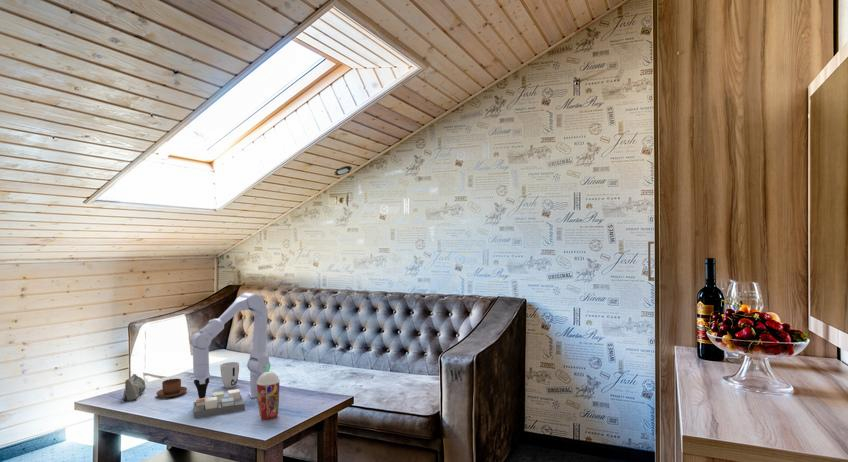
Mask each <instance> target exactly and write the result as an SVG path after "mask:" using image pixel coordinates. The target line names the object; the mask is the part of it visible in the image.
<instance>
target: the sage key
mask: <svg viewBox="0 0 848 462" xmlns="http://www.w3.org/2000/svg"><path fill="white" fill-rule="evenodd" d="M211 397H217V403H221V399H224V397H225V392H224V390H223V391H222V390H221V391H215V392H211Z"/></svg>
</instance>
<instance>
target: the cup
mask: <svg viewBox="0 0 848 462" xmlns="http://www.w3.org/2000/svg"><path fill="white" fill-rule="evenodd" d="M219 368H220V376H221V381H222V382H221V383H222V384H223V386H224V388H226V389H230V388H235V387H236V386H237V385H238V380H239V374H240V362H237V361H229V362H223V363H221V364H220V366H219Z"/></svg>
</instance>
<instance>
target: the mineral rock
mask: <svg viewBox="0 0 848 462" xmlns="http://www.w3.org/2000/svg"><path fill="white" fill-rule="evenodd" d="M124 385H125V386H124V391H123V395H122V396H123V401H134V400H137V399H138V398H139V397H140V395H141V394H142V393H144V392H145V390H146V380H145V379H143V378H142V377H140V376H138V375H137V374H135V373H133V374H132V376H130V377H129V378H128V379H127V378H126V380H125V382H124Z"/></svg>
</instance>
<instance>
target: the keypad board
mask: <svg viewBox="0 0 848 462" xmlns="http://www.w3.org/2000/svg"><path fill="white" fill-rule="evenodd" d="M226 398H228V396H224V399H226ZM245 405H246V404H245V401H244V399H243V397H242V395H241V394H240V400H234V405H231V406H225V407H222V402H221V403H217V408H212V409H206V410H205V405H202V406H196V401H193V414H194V419H197V418H204V417H210V416H216V414H217V415H221V414H228V413H233V412H239V411H245V410H246V406H245Z"/></svg>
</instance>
